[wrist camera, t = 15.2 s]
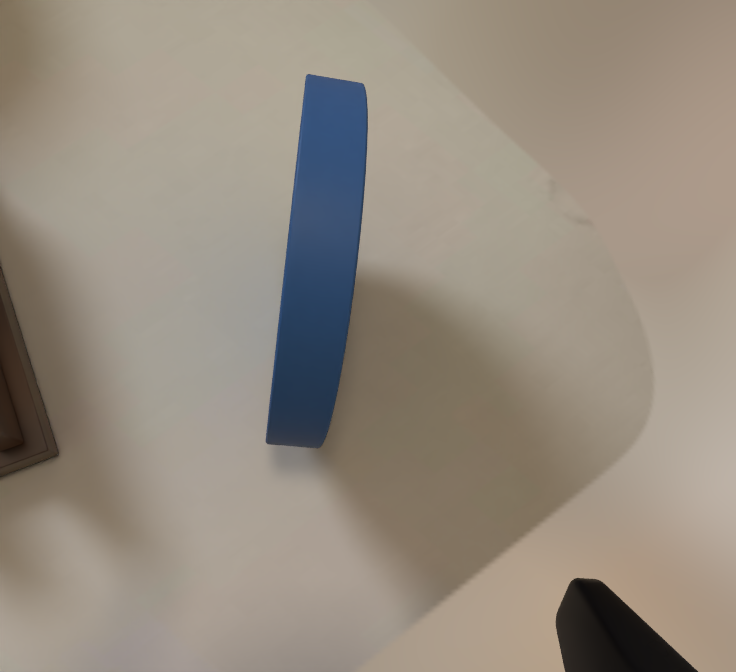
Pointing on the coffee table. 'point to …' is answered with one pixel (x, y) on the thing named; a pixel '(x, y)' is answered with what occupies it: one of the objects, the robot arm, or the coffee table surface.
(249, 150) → the coffee table surface
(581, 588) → the robot arm
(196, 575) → the coffee table surface
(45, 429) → the rack
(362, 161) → the disc
